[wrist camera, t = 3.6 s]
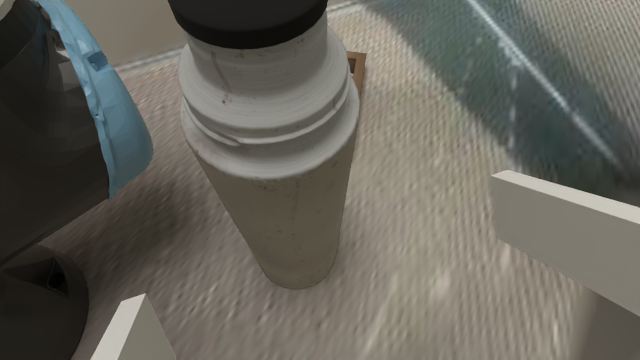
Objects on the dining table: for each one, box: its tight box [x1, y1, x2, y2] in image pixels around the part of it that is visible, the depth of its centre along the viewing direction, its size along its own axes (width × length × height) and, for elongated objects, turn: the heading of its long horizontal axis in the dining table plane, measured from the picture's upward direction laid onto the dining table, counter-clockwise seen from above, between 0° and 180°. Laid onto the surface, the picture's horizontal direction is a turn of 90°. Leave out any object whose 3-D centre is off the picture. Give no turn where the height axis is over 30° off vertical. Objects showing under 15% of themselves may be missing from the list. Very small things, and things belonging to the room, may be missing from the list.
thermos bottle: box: [168, 0, 360, 289], centre depth 22 cm, size 8×8×28 cm
